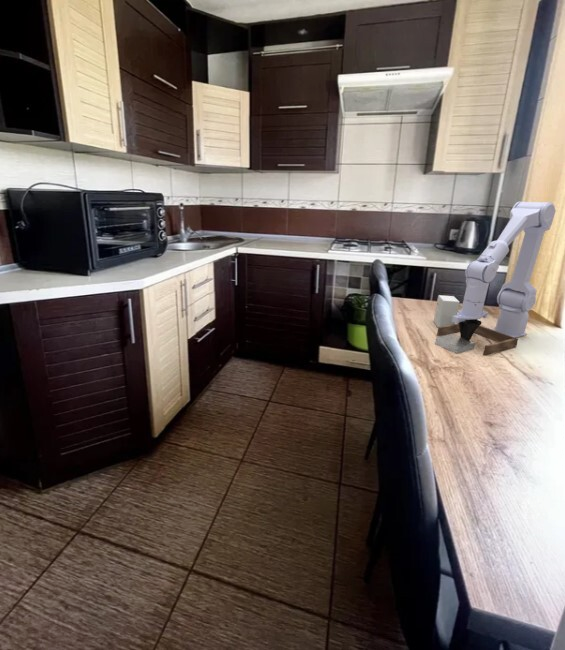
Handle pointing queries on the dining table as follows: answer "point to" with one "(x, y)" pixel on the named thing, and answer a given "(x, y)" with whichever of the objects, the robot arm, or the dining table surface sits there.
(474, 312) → the robot arm
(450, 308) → the small box
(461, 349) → the cover plate
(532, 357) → the dining table surface
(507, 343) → the brown u-shaped frame
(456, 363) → the dining table surface
